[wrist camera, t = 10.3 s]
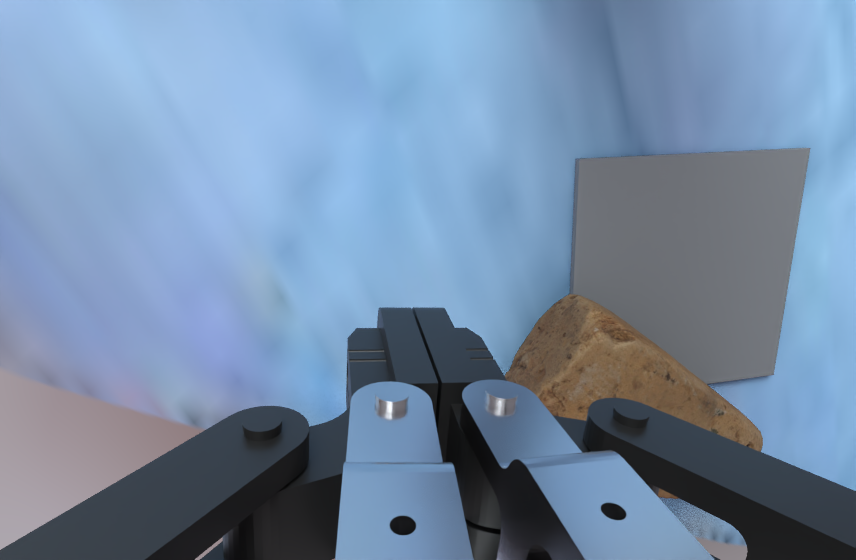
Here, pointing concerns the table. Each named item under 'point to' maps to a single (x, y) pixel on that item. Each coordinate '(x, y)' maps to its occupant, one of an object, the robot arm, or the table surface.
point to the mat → (692, 251)
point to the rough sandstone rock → (616, 372)
